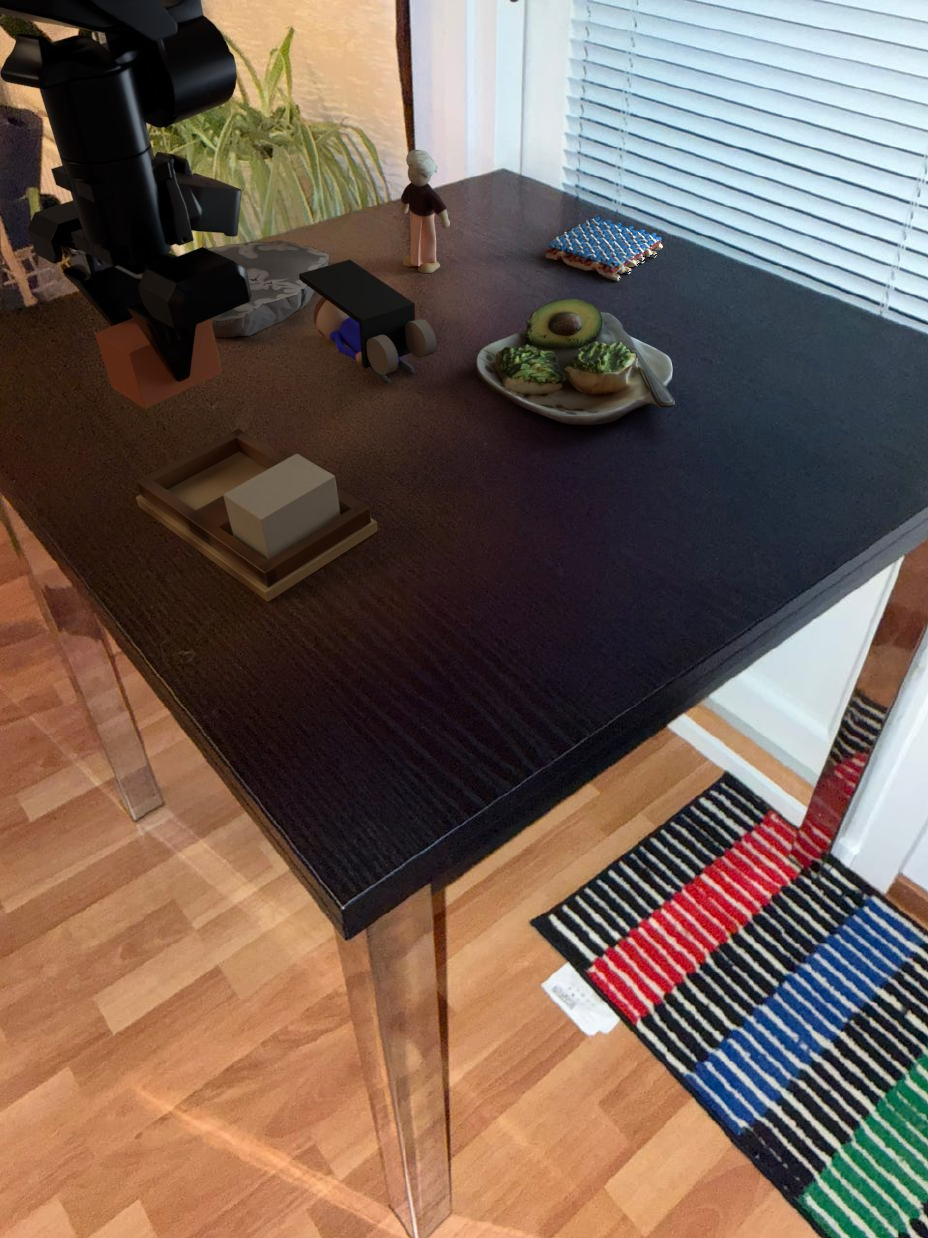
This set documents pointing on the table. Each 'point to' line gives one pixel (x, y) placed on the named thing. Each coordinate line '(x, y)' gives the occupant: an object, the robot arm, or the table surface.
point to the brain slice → (268, 284)
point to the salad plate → (576, 366)
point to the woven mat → (604, 247)
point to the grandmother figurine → (422, 211)
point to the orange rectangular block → (153, 363)
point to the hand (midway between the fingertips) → (164, 368)
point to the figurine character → (368, 318)
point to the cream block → (282, 505)
